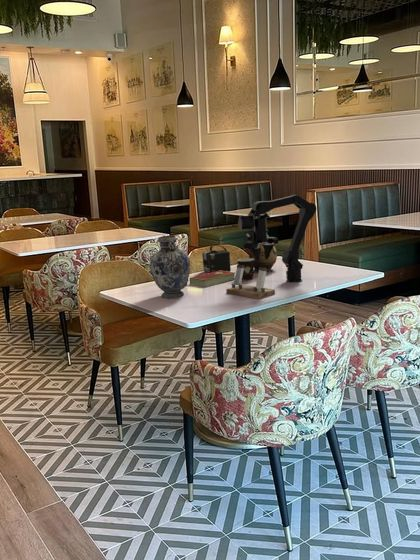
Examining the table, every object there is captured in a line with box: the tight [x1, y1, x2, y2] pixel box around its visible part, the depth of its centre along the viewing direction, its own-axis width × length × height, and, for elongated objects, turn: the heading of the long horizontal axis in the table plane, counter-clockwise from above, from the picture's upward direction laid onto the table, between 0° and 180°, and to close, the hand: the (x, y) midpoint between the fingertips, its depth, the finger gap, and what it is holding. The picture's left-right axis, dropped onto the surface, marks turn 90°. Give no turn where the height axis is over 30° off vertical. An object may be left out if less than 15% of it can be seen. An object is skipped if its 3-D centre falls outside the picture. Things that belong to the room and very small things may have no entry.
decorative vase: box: [149, 234, 191, 299], centre depth 247 cm, size 21×19×28 cm
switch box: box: [226, 282, 276, 300], centre depth 242 cm, size 11×20×4 cm, turn 42°
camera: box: [202, 244, 232, 274], centre depth 299 cm, size 11×14×15 cm
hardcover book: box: [189, 270, 236, 287], centre depth 273 cm, size 12×21×4 cm, turn 131°
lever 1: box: [233, 263, 245, 286], centre depth 246 cm, size 2×3×9 cm, turn 42°
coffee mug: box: [236, 257, 262, 281], centre depth 273 cm, size 12×9×10 cm
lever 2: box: [255, 267, 268, 289], centre depth 236 cm, size 2×3×9 cm, turn 41°
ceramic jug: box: [248, 218, 278, 272], centre depth 292 cm, size 17×15×30 cm
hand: (262, 260), depth 256 cm, fingers open, 6 cm apart
